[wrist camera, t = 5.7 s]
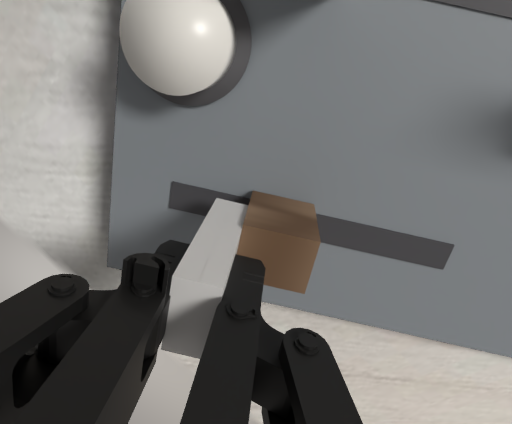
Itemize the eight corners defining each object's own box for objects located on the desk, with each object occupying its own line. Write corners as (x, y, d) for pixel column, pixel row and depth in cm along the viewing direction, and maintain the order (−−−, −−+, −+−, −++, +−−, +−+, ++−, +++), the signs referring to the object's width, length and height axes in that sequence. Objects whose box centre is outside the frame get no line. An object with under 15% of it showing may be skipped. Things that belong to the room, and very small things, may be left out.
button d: (136, 80, 16) (116, 82, 14) (144, -27, 14) (122, -40, 12) (226, 101, 16) (218, 106, 14) (244, -4, 14) (238, -13, 12)
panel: (125, 245, 22) (84, 291, 18) (154, -127, 15) (97, -205, 11) (574, 346, 22) (647, 418, 18) (806, 20, 15) (1020, 3, 11)
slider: (243, 234, 18) (231, 277, 15) (252, 190, 17) (243, 224, 14) (301, 247, 18) (304, 293, 15) (314, 204, 18) (320, 242, 14)
